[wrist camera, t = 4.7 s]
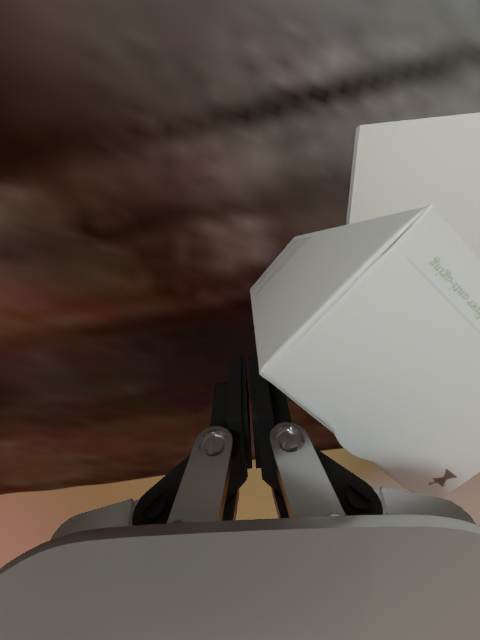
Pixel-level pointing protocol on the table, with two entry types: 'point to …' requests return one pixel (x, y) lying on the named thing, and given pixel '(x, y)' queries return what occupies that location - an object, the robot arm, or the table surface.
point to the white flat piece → (419, 171)
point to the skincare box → (381, 342)
